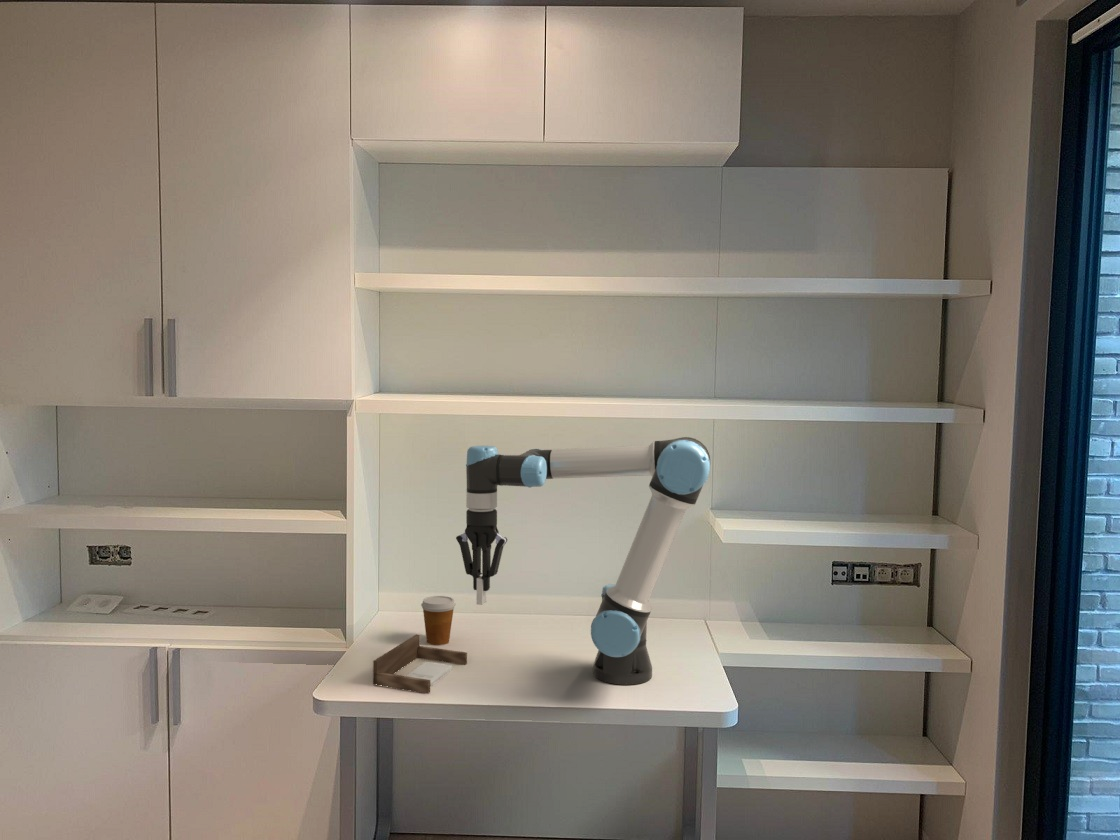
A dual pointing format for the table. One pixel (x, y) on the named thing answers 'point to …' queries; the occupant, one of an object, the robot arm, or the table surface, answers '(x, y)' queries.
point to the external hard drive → (430, 671)
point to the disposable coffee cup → (438, 618)
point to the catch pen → (403, 656)
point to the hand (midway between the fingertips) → (481, 603)
